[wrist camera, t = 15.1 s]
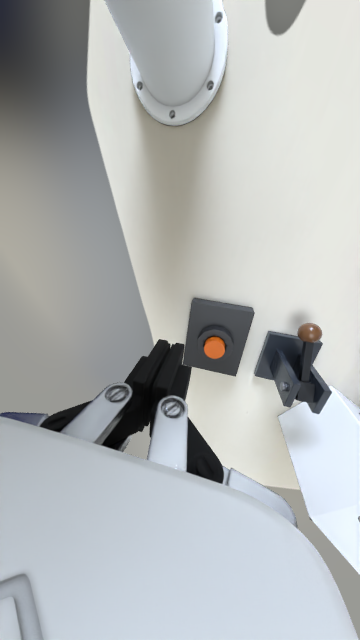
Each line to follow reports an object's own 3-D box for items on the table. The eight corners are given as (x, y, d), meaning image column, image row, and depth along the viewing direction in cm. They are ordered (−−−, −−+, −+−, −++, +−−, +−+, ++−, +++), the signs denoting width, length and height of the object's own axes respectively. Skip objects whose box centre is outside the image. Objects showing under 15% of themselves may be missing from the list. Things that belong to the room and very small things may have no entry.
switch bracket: (268, 330, 35) (285, 364, 25) (319, 340, 34) (358, 379, 24) (254, 372, 39) (264, 415, 29) (299, 382, 38) (326, 430, 28)
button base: (193, 297, 36) (190, 304, 32) (252, 307, 34) (256, 316, 30) (185, 357, 41) (181, 369, 37) (234, 368, 40) (236, 382, 36)
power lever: (295, 322, 31) (305, 320, 28) (315, 326, 31) (328, 323, 28) (285, 394, 30) (294, 400, 27) (306, 399, 30) (318, 405, 26)
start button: (206, 334, 34) (205, 339, 32) (226, 338, 33) (226, 343, 31) (203, 351, 35) (202, 356, 33) (222, 355, 34) (222, 360, 33)
